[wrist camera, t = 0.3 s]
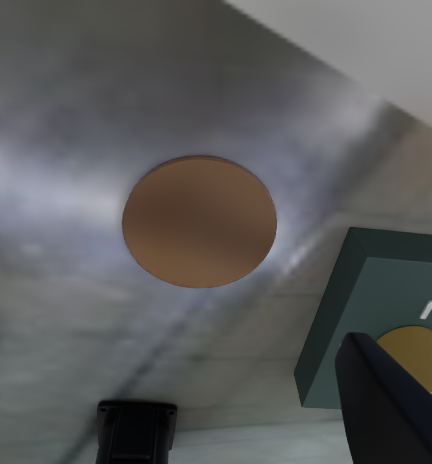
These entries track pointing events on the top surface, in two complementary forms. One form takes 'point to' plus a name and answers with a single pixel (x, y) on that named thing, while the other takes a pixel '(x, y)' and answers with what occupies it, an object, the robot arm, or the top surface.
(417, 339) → the tap knob
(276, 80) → the top surface
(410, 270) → the green dial base
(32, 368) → the top surface
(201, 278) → the coaster
